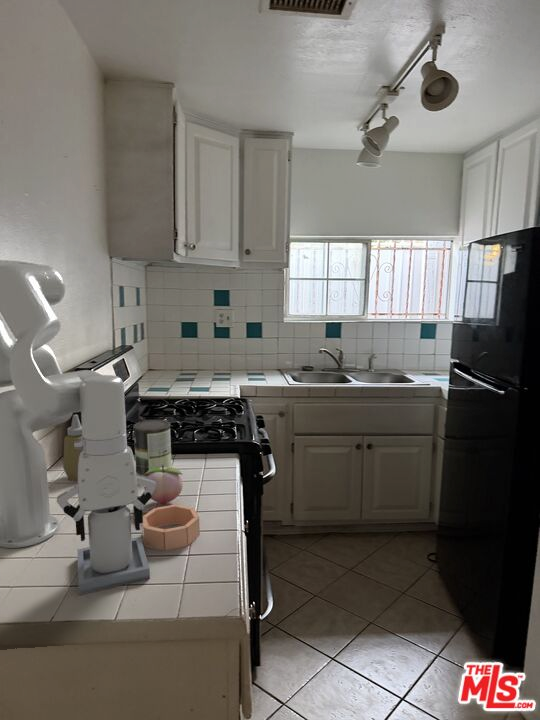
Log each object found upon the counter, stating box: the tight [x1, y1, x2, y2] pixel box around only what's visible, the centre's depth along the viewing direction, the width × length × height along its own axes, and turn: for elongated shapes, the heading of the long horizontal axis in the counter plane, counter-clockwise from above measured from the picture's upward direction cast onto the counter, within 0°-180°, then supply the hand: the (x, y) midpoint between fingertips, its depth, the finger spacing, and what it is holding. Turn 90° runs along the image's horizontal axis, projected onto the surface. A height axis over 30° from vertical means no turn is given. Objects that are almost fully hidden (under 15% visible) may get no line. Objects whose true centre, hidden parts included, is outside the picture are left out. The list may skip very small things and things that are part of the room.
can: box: [87, 505, 133, 574], centre depth 89 cm, size 8×8×12 cm
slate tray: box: [76, 536, 151, 596], centre depth 89 cm, size 12×12×2 cm
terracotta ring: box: [140, 504, 201, 552], centre depth 101 cm, size 12×12×4 cm
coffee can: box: [132, 419, 173, 478], centre depth 136 cm, size 10×10×14 cm
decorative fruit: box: [143, 465, 184, 505], centre depth 116 cm, size 9×8×10 cm
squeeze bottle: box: [62, 414, 84, 482], centre depth 132 cm, size 8×8×18 cm
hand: (110, 532), depth 88 cm, fingers open, 9 cm apart
